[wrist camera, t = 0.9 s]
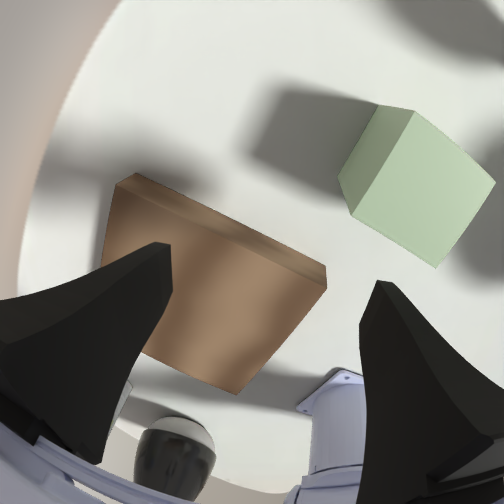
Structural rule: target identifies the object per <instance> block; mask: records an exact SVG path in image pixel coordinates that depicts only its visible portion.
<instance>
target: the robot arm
mask: <svg viewBox="0 0 504 504" xmlns="http://www.w3.org/2000/svg"><path fill="white" fill-rule="evenodd" d="M172 293H173V279H172V262H171V244H166V243H161V242H153V243H150V244H148V245H146V246H144V247H141V248H139V249H137V250H135V251H133V252H131V253H129V254H128V255H126V256H124V257H122V258H120V259H118V260H116V261H114V262H112V263H110V264H108V265H106V266H103V267H101V268H99V269H97V270H95V271H93V272H91V273H89V274H87V275H84V276H82V277H80V278H77V279H75V280H72V281H70V282H67V283H64V284H62V285H59V286H56V287H53V288H49V289H46V290H43V291H39V292H36V293H33V294H29V295H25V296H20V297H16V298H11V299H6V300H0V504H105V503H104V502H103V501H101V500H99V499H97V498H95V497H93V496H92V495H90V494H88V493H86V492H84V491H82V490H80V489H79V488H77V487H75V486H74V482H73V480H72V479H74V480H75V481H78V482H79V483H81V484H83V485H85V486H87V487H89V488H91V489H93V490H95V491H97V492H99V493H101V494H103V495H105V496H107V497H110V498H112V499H114V500H116V501H118V502H121V503H123V504H199V503H195V502H191V501H187V500H184V499H180V498H177V497H173V496H170V495H167V494H164V493H161V492H158V491H155V490H152V489H149V488H146V487H144V486H141V485H138V484H136V483H133V482H130V481H128V480H125V479H123V478H121V477H118V476H116V475H114V474H112V473H109V472H107V471H105V470H103V469H101V468H98V467H96V466H94V465H97V464H99V463H101V462H102V457H103V453H104V449H105V445H106V441H107V437H108V433H109V430H110V426H111V423H112V420H113V417H114V414H115V410H116V408H117V405H118V402H119V399H120V397H121V394H122V391H123V389H124V386H125V384H126V381H127V379H128V377H129V374H130V372H131V369H132V367H133V365H134V363H135V361H136V360H137V358H138V356H139V354H140V353H141V351H142V349H143V347H144V346H145V344H146V342H147V341H148V339H149V337H150V336H151V334H152V332H153V331H154V329H155V327H156V326H157V324H158V322H159V321H160V319H161V317H162V315H163V314H164V311H165V309H166V307H167V305H168V302H169V300H170V297H171V295H172ZM359 349H360V357H361V365H362V372H363V377H362V376H360V375H357V374H354V373H351V372H349V371H346V370H340V371H339V372H337V373H336V374H335V375H334V376H333V377H332V378H330V379H329V380H328V381H327V382H326V383H325V384H323V385H322V386H321V387H320V388H319V389H317V390H316V391H315V392H314V393H313V394H311V395H310V396H309V397H308V398H306V399H305V400H304V401H303V402H301V403H300V404H299V405H298V406H297V407H296V410H297V411H299V412H302V413H305V414H308V415H312V416H313V418H312V434H311V447H310V459H309V471H308V476H302V483H301V485H296V486H294V487H293V488H292V490H291V491H290V492H289V493H288V494H287V496H286V498H285V500H284V504H504V481H503V476H504V389H502V388H501V387H499V386H498V385H497V384H495V383H494V382H492V381H491V380H490V379H488V378H487V377H486V376H485V375H483V374H482V373H481V372H480V371H478V370H477V369H476V368H475V367H473V366H472V365H471V364H470V363H469V362H468V361H466V360H465V359H464V358H463V357H462V356H461V355H460V354H459V353H458V352H457V351H456V350H455V349H454V348H453V347H452V346H451V345H450V344H449V343H448V342H447V341H446V340H445V339H444V338H443V337H442V336H441V335H440V334H439V333H438V332H437V331H436V330H435V329H434V328H433V326H432V325H431V324H430V323H429V322H428V321H427V320H426V319H425V317H424V316H423V315H422V314H421V313H420V312H419V311H418V309H417V308H416V307H415V306H414V305H413V304H412V302H411V301H410V300H409V299H408V298H407V297H406V296H405V295H404V293H403V292H402V291H401V290H400V289H399V288H398V287H397V286H396V285H395V284H394V283H392V282H386V281H380V280H377V281H376V284H375V287H374V289H373V292H372V294H371V297H370V299H369V302H368V304H367V307H366V309H365V311H364V314H363V316H362V318H361V321H360V323H359ZM71 478H72V479H71Z"/></svg>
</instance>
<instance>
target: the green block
mask: <svg viewBox="0 0 504 504" xmlns="http://www.w3.org/2000/svg"><path fill="white" fill-rule="evenodd" d="M337 178H338V181H339V183H340V186H341V189H342V192H343V194H344V197H345V200H346V203H347V206H348V209H349V212H350V215H351V216H352V217H354V218H355V219H357V220H359V221H360V222H362V223H364V224H365V225H367V226H369V227H371V228H372V229H374V230H376V231H377V232H379V233H380V234H382V235H384V236H385V237H387V238H389V239H390V240H392V241H393V242H395V243H397V244H398V245H400V246H401V247H403V248H405V249H406V250H408V251H409V252H411V253H412V254H414V255H416V256H417V257H419V258H420V259H422V260H423V261H425V262H426V263H428V264H429V265H431V266H432V267H434V268H435V269H436V268H437V267H438V265H439V264H440V263H441V262H442V260H443V259H444V258H445V256H446V255H447V254H448V252H449V251H450V250H451V249H452V247H453V246H454V245H455V243H456V242H457V240H458V239H459V238H460V236H461V235H462V234H463V232H464V231H465V229H466V228H467V227H468V225H469V224H470V222H471V221H472V219H473V218H474V216H475V215H476V213H477V212H478V210H479V209H480V207H481V206H482V204H483V203H484V201H485V199H486V198H487V196H488V195H489V193H490V191H491V190H492V188H493V187H494V185H495V183H496V182H495V181H494V179H493V178H492V177H491V176H490V175H489V174H488V173H487V172H486V171H485V170H484V169H483V168H482V167H481V166H480V165H479V164H478V163H477V162H475V161H474V160H473V159H472V158H471V157H470V156H469V155H468V154H467V153H466V152H465V151H464V150H463V149H461V148H460V147H459V146H458V145H457V144H456V143H455V142H454V141H452V140H451V139H450V138H449V137H448V136H446V135H445V134H444V133H443V132H442V131H440V130H439V129H438V128H437V127H435V126H434V125H433V124H432V123H430V122H429V121H428V120H427V119H425V118H424V117H423V116H421V115H420V114H419V113H417V112H416V111H413V110H408V109H403V108H397V107H391V106H384V105H378V107H377V109H376V110H375V112H374V114H373V116H372V118H371V119H370V121H369V123H368V125H367V126H366V128H365V130H364V132H363V133H362V135H361V137H360V138H359V140H358V142H357V144H356V145H355V147H354V149H353V150H352V152H351V154H350V156H349V157H348V159H347V161H346V162H345V164H344V166H343V167H342V169H341V171H340V173H339V174H338V176H337Z"/></svg>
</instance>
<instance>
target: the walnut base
mask: <svg viewBox="0 0 504 504" xmlns="http://www.w3.org/2000/svg"><path fill="white" fill-rule="evenodd" d="M153 242H161V243H166V244H171V262H172V279H173V293H172V295H171V297H170V300H169V302H168V305H167V307H166V309H165V311H164V314H163V315H162V317H161V319H160V321H159V322H158V324H157V326H156V327H155V329H154V331H153V332H152V334H151V336H150V337H149V339H148V341H147V342H146V344H145V346H144V347H143V349H142V351H141V352H142V353H144V354H146V355H148V356H150V357H152V358H154V359H156V360H158V361H160V362H162V363H164V364H166V365H168V366H170V367H172V368H174V369H176V370H178V371H181V372H183V373H185V374H187V375H189V376H191V377H194V378H196V379H198V380H201V381H203V382H205V383H207V384H210V385H212V386H215V387H217V388H219V389H222V390H224V391H227V392H229V393H232V394H234V395H237V394H238V393H239V392H240V391H241V390H242V389H243V388H244V387H245V386H246V385H247V383H248V382H249V381H250V380H251V379H252V378H253V377H254V376H255V375H256V373H257V372H258V371H259V370H260V369H261V368H262V367H263V366H264V364H265V363H266V362H267V361H268V360H269V359H270V358H271V356H272V355H273V354H274V353H275V352H276V351H277V349H278V348H279V347H280V346H281V345H282V344H283V342H284V341H285V340H286V339H287V338H288V337H289V335H290V334H291V333H292V332H293V331H294V329H295V328H296V327H297V326H298V324H299V323H300V322H301V321H302V320H303V318H304V317H305V316H306V315H307V313H308V312H309V311H310V310H311V308H312V307H313V306H314V305H315V303H316V302H317V301H318V300H319V298H320V297H321V296H322V294H323V293H324V292H325V291H326V289H327V278H326V266H325V265H323V264H321V263H319V262H317V261H315V260H313V259H311V258H309V257H307V256H305V255H303V254H301V253H299V252H297V251H295V250H293V249H291V248H289V247H287V246H285V245H283V244H281V243H279V242H277V241H275V240H273V239H271V238H269V237H267V236H265V235H263V234H261V233H259V232H257V231H255V230H253V229H251V228H249V227H247V226H245V225H243V224H241V223H239V222H237V221H235V220H233V219H231V218H229V217H227V216H225V215H223V214H221V213H219V212H217V211H215V210H213V209H210V208H208V207H206V206H204V205H202V204H200V203H198V202H196V201H194V200H192V199H190V198H188V197H186V196H184V195H181V194H179V193H177V192H175V191H173V190H171V189H169V188H167V187H165V186H163V185H160V184H158V183H156V182H154V181H152V180H150V179H148V178H146V177H143V176H141V175H139V174H137V173H135V174H133V175H131V176H130V177H128V178H126V179H124V180H123V181H121V182H119V183H118V184H116V186H115V190H114V195H113V199H112V204H111V209H110V214H109V219H108V224H107V230H106V235H105V241H104V247H103V254H102V261H101V267H103V266H106V265H108V264H110V263H112V262H114V261H116V260H118V259H120V258H122V257H124V256H126V255H128V254H129V253H131V252H133V251H135V250H137V249H139V248H141V247H144V246H146V245H148V244H150V243H153Z"/></svg>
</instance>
